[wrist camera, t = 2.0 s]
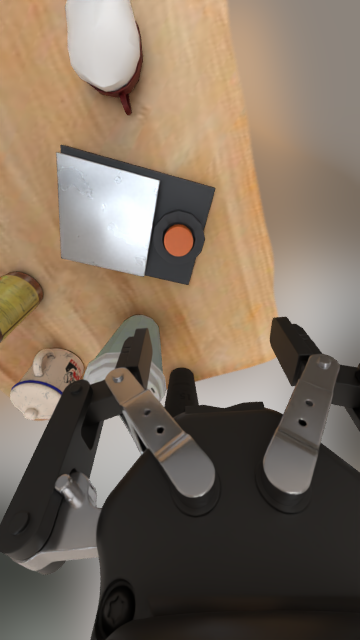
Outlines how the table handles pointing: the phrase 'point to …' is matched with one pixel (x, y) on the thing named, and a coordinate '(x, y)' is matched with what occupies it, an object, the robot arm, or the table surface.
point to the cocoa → (105, 46)
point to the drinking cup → (180, 391)
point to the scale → (167, 216)
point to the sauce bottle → (17, 300)
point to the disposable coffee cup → (112, 350)
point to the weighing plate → (105, 214)
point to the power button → (178, 240)
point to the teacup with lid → (45, 382)
